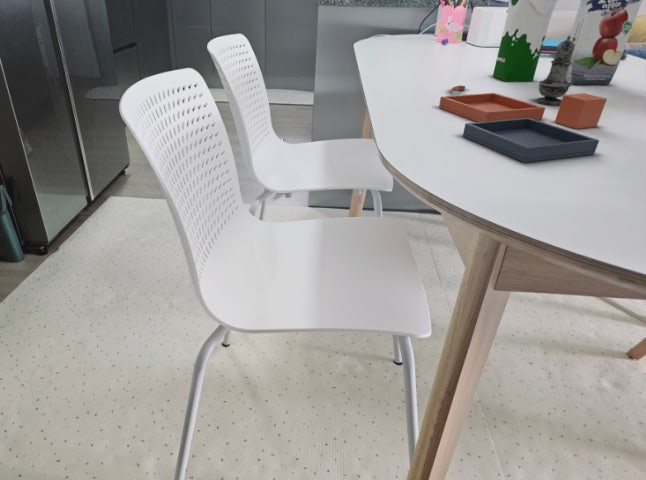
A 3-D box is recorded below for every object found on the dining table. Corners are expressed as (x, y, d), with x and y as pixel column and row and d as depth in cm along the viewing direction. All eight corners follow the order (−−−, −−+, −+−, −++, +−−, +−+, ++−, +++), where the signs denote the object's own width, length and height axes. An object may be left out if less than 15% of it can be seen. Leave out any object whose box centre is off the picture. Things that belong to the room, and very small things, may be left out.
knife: (462, 97, 94) (446, 95, 95) (461, 100, 94) (446, 98, 95) (468, 85, 104) (454, 84, 105) (467, 88, 104) (453, 87, 105)
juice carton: (552, 79, 116) (592, -54, 101) (594, 79, 116) (640, -54, 101) (571, 85, 108) (617, -57, 94) (616, 86, 108) (669, -57, 94)
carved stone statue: (567, 101, 94) (588, 35, 88) (563, 106, 90) (585, 37, 84) (535, 97, 97) (554, 33, 91) (530, 103, 93) (549, 35, 87)
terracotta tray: (491, 103, 93) (493, 92, 92) (542, 119, 82) (545, 107, 81) (438, 107, 89) (440, 96, 88) (484, 124, 79) (487, 112, 78)
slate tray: (525, 130, 76) (528, 117, 75) (594, 154, 66) (599, 140, 65) (462, 136, 73) (465, 123, 72) (524, 162, 62) (528, 148, 61)
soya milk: (487, 75, 120) (508, -17, 109) (522, 75, 120) (547, -17, 109) (501, 82, 112) (526, -16, 101) (539, 82, 112) (567, -16, 102)
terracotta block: (574, 120, 82) (584, 93, 79) (596, 126, 78) (607, 98, 76) (554, 122, 81) (563, 94, 78) (575, 128, 77) (585, 100, 75)
